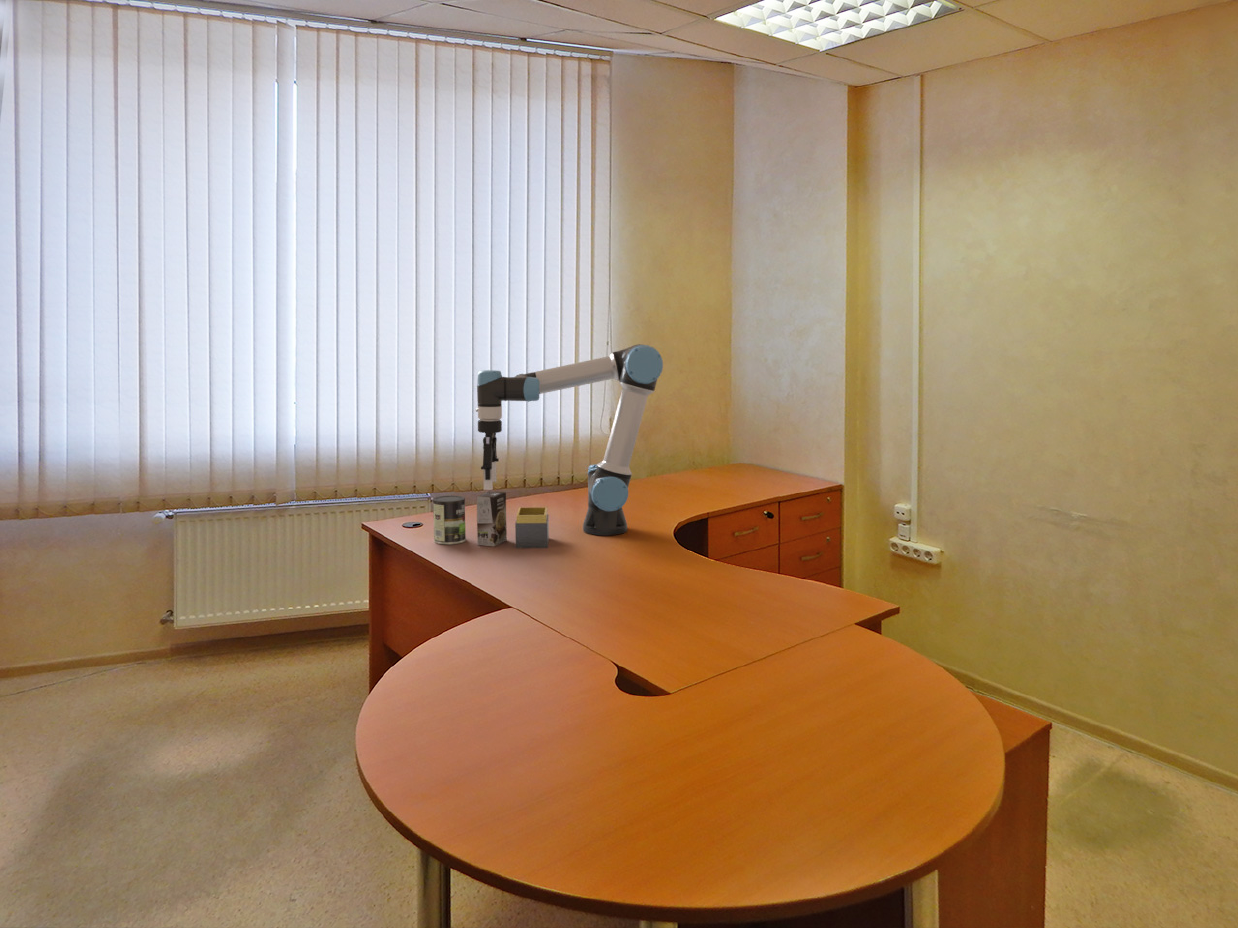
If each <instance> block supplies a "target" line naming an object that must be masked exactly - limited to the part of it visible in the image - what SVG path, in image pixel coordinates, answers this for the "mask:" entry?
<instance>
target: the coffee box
mask: <svg viewBox="0 0 1238 928" xmlns="http://www.w3.org/2000/svg"><path fill="white" fill-rule="evenodd" d="M476 529H477V531H476V532H477V533H476V535H477V536H476V537H477V539H476V541H477V545H478V546H484V547H496V546H497V545H500V544H502V543H504V542H506V541H507V534H508V533H507V492H505V491H487V492H484V493H481V494H479V495H477V496H476Z"/></svg>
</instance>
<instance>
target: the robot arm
mask: <svg viewBox="0 0 1238 928" xmlns="http://www.w3.org/2000/svg"><path fill="white" fill-rule="evenodd" d="M663 368H664V363H663V358H662V356H661V354H660V352H659V351H658V350H657V349H656V348H655V347H653V346H650V345H649V344H647V345H646V344H634V345H631V346H629V347H627V348H624V349H621V350H617V351H612V352H611V353H610V355H608V356H604V357H599V358H594V359H588V360H583V361H580V362H575V363H571V364H565V365H561V366H556V367H552V368H546V369H541V370H536V371H533V372H528V373H519V374H517V375H516V376H513V377H512V376H510V377H509V376H503V375H502V372H501V370H494V369H493V370H490V369H488V370H487V369H483V370H479V371H478V372H477V381H476V383H477V384H476V392H477V394H476V395H477V396H476V397H477V401H476V402H477V408H476V409H475V412H476V413H477V419H478V421H477V432H478V433H480V434H481V433H482V434H483V433H484V434H485V435H484V437H483V438H482V443H483V447H482V448H483V453H482V455H483V456H482V457H483V459H482V466H480V469H481V470H483V471H482V472H483V477H482V478H483V491H493V489H494V487H493V485H494V484H493V483H497V480H498V479H497V462H498V463H499V458H498V455H497V441H498V439H497V437H496V436H497V434H498V433H501V432H502V430H503V422H502V420H501V419H502V418H503V414H502V413H503V407H502V401H503V402H507V401H508V402H538V401H539V400H540V395H541V394H546V393H551V392H556V391H561V390H564V389H566V390H567V389H571V388H575V387H580V386H585V385H590V384H594V383H599V382H604V381H609V380H613V379H614V380H615V381H617V382H618V383H619V385H620V386H621V392H620V396H619V400H618V402H617V407H616V411H615V414H614V418H613V421H612V426H611V430H610V433H609V436H608V441H607V445H606V448H605V453H604V455H603V460H602V461H600V462H599V463H596V464H590V465H589V466H588V468H587V469H588V470H587V485H588V486H587V500H588V501H587V502H588V504H587V505H588V506H587V512H586V513H585V518H584V521H583V523H582V531H583V532H584V533H585V534H588V535H595V536H615V535H616V536H617V535H621V534H625V533H626V532H628V521H627V520H626V516H625V513H624V511H623V507H624V506H625V504H626V503H627V501H628V498H629V486H630V482H631V477H632V475H633V473H632V470H631V468H630V464H631V460H632V456H633V453H634V449H635V445H636V442H637V439H638V434H639V430H640V428H641V424H642V420H643V416H644V412H645V409H646V404H647V401H648V397H649V396H650V395H651V394H653V393H655V389H656V386H657V382H658V379H659V377H660V376H661V374H662V372H663Z"/></svg>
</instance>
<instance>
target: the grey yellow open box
mask: <svg viewBox="0 0 1238 928" xmlns="http://www.w3.org/2000/svg"><path fill="white" fill-rule="evenodd" d="M549 522H550V519H549V514H548V506H529V507H528V506H524V507H523V506H522V507H521V506H520V507H518V510H517V513H516V520H515V524H514V526H515V527H514V529H515V530H514V531H515V549H548V545H549V539H550V538H549V537H550V533H549V532H550V530H549V529H550V527H549Z"/></svg>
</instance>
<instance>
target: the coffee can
mask: <svg viewBox="0 0 1238 928" xmlns="http://www.w3.org/2000/svg"><path fill="white" fill-rule="evenodd" d="M432 506H433V507H432V509H433V511H432V513H433V535H434V536H433V537H434V541H433V542H434V543H435V544H438V545H458V544H461V543H464V542H466V541H467V539H466V538H467V537H466V535H467V534H466V497H464V496H461V495H441V496H436V497H434V498H432Z"/></svg>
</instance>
